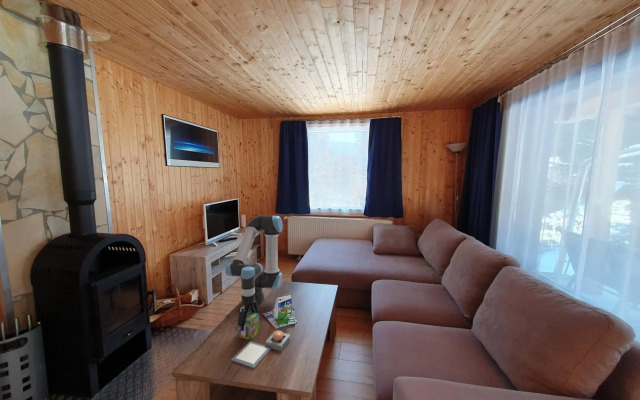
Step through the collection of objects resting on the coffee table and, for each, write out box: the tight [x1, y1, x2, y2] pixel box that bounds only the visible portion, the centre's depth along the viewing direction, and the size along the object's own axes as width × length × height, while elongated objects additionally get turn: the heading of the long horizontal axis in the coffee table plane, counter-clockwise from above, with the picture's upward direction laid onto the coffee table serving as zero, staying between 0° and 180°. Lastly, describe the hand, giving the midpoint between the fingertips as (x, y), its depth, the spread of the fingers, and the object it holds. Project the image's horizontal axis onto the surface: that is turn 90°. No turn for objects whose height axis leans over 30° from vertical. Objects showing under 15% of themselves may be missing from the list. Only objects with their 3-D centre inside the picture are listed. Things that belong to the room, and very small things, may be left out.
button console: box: [265, 332, 291, 352], centre depth 136 cm, size 10×10×3 cm
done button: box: [272, 330, 284, 342], centre depth 136 cm, size 6×6×2 cm
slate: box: [230, 340, 272, 370], centre depth 127 cm, size 15×14×1 cm
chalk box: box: [237, 310, 260, 341], centre depth 143 cm, size 9×9×15 cm
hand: (248, 330), depth 143 cm, fingers closed on chalk box, 9 cm apart
